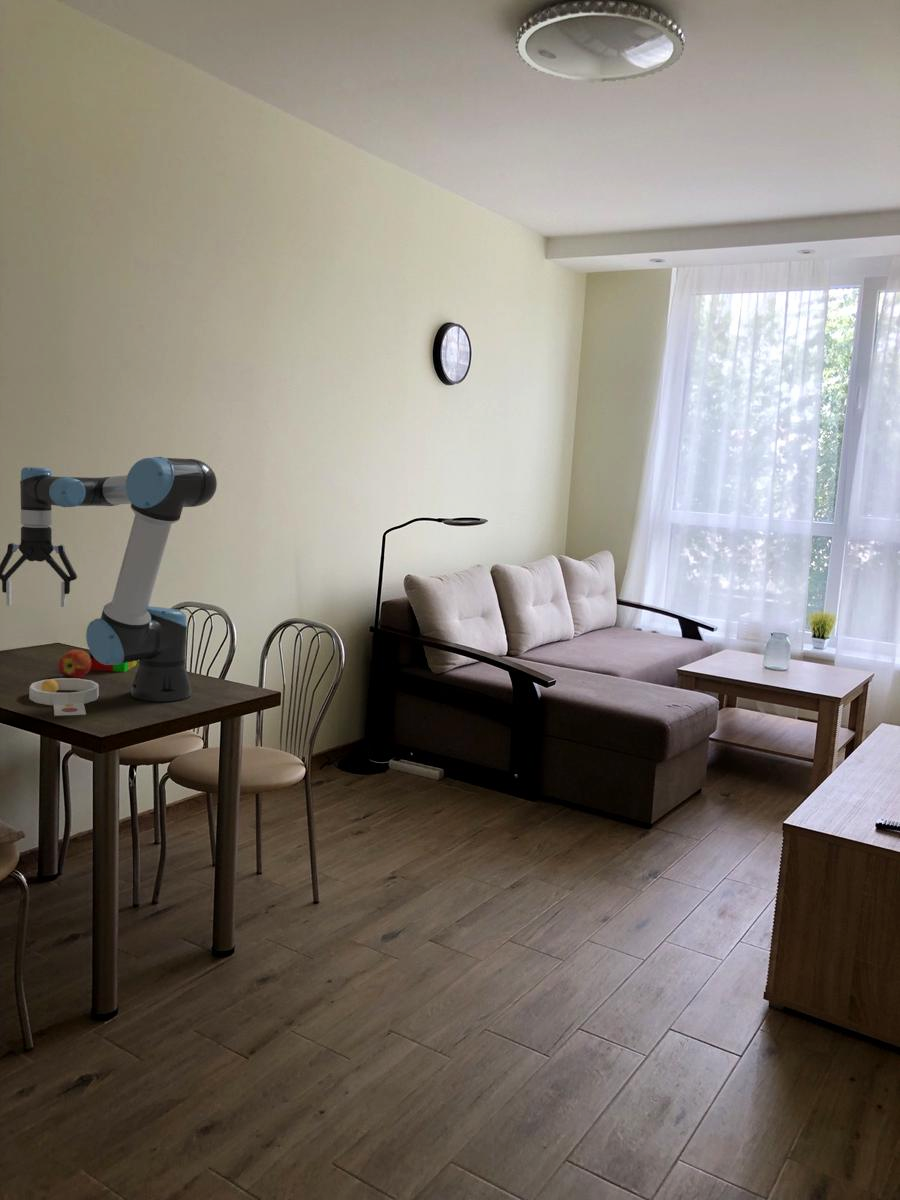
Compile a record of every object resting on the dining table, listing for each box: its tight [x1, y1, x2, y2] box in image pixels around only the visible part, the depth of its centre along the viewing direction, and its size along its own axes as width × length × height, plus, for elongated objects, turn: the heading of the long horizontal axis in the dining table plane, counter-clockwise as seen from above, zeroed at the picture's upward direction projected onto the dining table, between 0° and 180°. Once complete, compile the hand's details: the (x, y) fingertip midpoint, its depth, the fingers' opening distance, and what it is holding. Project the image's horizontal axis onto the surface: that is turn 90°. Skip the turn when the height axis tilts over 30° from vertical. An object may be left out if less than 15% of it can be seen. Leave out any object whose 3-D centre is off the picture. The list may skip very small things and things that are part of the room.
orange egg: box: [41, 678, 59, 693], centre depth 255 cm, size 4×4×4 cm
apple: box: [58, 649, 91, 679], centre depth 274 cm, size 8×8×8 cm
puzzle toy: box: [89, 651, 138, 673], centre depth 290 cm, size 10×10×10 cm
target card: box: [53, 702, 87, 717], centre depth 244 cm, size 10×7×1 cm
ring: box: [28, 677, 100, 706], centre depth 254 cm, size 16×16×3 cm
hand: (36, 605), depth 267 cm, fingers open, 13 cm apart
